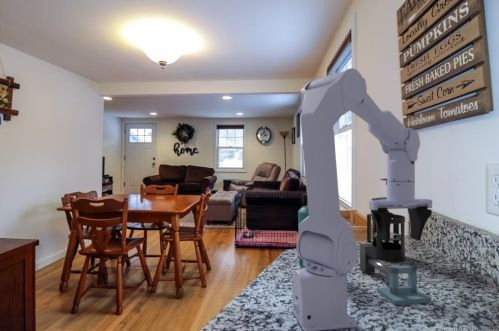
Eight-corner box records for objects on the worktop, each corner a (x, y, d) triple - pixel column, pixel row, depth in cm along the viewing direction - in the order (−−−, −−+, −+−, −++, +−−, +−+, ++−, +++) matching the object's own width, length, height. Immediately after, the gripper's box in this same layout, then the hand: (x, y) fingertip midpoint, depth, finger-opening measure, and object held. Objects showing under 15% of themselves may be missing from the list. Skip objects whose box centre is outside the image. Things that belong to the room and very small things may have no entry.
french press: (415, 258, 86) (414, 178, 85) (397, 265, 80) (397, 180, 80) (377, 248, 95) (377, 177, 95) (359, 254, 90) (359, 178, 90)
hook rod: (402, 290, 64) (402, 260, 64) (391, 291, 64) (390, 260, 64) (369, 269, 77) (369, 243, 77) (360, 269, 77) (359, 244, 77)
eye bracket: (431, 301, 60) (431, 270, 59) (394, 304, 58) (394, 273, 58) (411, 289, 66) (411, 261, 65) (377, 291, 64) (377, 263, 64)
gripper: (381, 182, 64) (381, 246, 64) (442, 181, 66) (442, 243, 66) (364, 180, 71) (364, 238, 71) (419, 179, 73) (419, 235, 73)
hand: (400, 240), depth 69 cm, fingers open, 7 cm apart
